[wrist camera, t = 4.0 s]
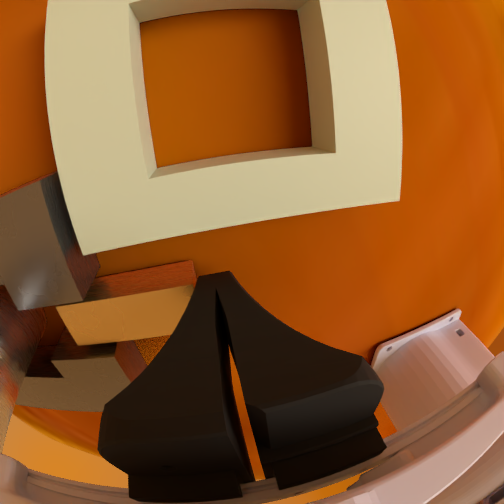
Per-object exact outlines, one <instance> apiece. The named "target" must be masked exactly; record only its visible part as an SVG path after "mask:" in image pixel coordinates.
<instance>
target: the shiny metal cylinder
mask: <svg viewBox="0 0 504 504" xmlns="http://www.w3.org/2000/svg"><path fill="white" fill-rule="evenodd" d="M46 327H47V318H46V314H45V311H44V309H43V307H40V308H33V309H26V310H19V311H18V309H17V307H16V306H15V304H14V302H13V300H12V298H11V296H10V294H9V292H8V290H7V288H6V286H5V284H4V285H0V453H1V454H2V450H3V445H4V441H5V437H6V433H7V429H8V425H9V422H10V418H11V415H12V412H13V409H14V405H15V402H16V399H17V396H18V394H19V391H20V388H21V385H22V383H23V380H24V377H25V375H26V372H27V370H28V367H29V365H30V363H31V360H32V358H33V356H34V353H35V351H36V349H37V347H38V344H39V342H40V340H41V338H42V336H43V334H44V332H45V330H46Z"/></svg>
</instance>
